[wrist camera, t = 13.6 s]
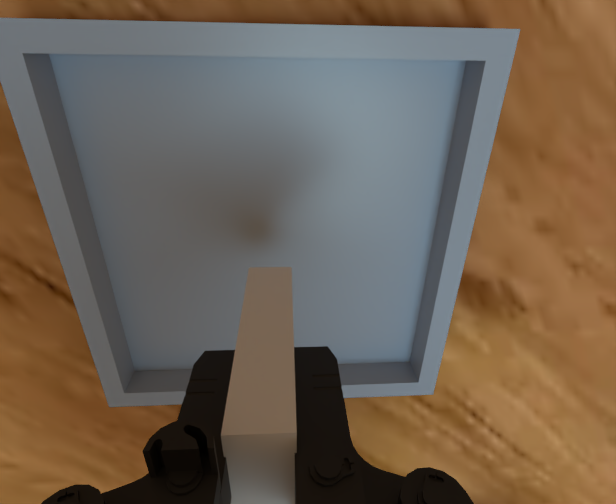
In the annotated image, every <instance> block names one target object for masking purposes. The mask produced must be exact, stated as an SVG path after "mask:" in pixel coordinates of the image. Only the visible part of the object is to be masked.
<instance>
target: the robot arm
mask: <svg viewBox="0 0 616 504" xmlns="http://www.w3.org/2000/svg"><path fill="white" fill-rule="evenodd" d="M143 454H144V457H145V461H146V464H147V467H148V471H149V474H147V475H146V476H144V477H143V478H141V479H139V480H137V481H135V482H132V483H130V484H127V485H125V486H122V487H119V488H116V489H113V490H111V491H108V492H105V493H102V494H101V493H100V491H99V490H98V489H96V488H94V487H92V486H90V485H73V486H70V487H68V488H65V489H62V490H59V491H58V492H56V493H55V494H53V495H52V496H50V497H49V498H47V499H46V500H44V501H43V502H42V503H41V504H474V503H473V502H472V500H471V499H470V497H469V496H468V494H467V493H466V491H465V490H464V489H463V488H462V486H461V485H460V484H459V483H458V482H457V481H456V480H455V479H454V478H452V477H451V476H449V475H448V474H446V473H445V472H443V471H440V470H437V469H433V468H430V467H429V468H417V469H416V470H414V471H412V472H411V473H409V474H407V476H406V477H403V476H400V475H397V474H393V473H390V472H386V471H383V470H380V469H378V468H376V467H373V466H372V465H370V464H369V463H367V462H366V461H364V460H363V458H362V457H361V456H360V455H359V454H358V453H357V451H356V450H355V448H354V446H353V444H352V441H351V438H350V432H349V426H348V421H347V415H346V409H345V403H344V397H343V391H342V385H341V380H340V374H339V368H338V362H337V358H336V357H335V356H334V354H333V353H332V352H331V350H330V349H329V347H328V346H321V347H294V330H293V298H292V267H249V270H248V276H247V282H246V288H245V294H244V300H243V306H242V312H241V318H240V324H239V330H238V336H237V342H236V348H235V350H212V351H204V353H203V354H202V355H201V356H200V357H199V359H198V360H197V361H196V362H195V363H194V365H193V369H192V372H191V376H190V379H189V383H188V386H187V389H186V395H185V396H184V399H183V403H182V406H181V410H180V413H179V417H178V420H177V421H176V422H172V423H170V424H168V425H167V426H165V427H163V428H161V429H160V430H158V431H157V432H156V433H155V434H154V435H153V436H152V437H151V438H150V439H149V441H148V443H147V444H146V446H145V448H144V450H143Z"/></svg>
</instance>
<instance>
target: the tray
mask: <svg viewBox="0 0 616 504" xmlns="http://www.w3.org/2000/svg"><path fill="white" fill-rule="evenodd" d="M519 32H520V29H494V28H448V27H402V26H356V25H310V24H264V23H218V22H173V21H127V20H81V19H35V18H0V82H1V85H2V88H3V91H4V94H5V97H6V100H7V103H8V106H9V109H10V112H11V115H12V118H13V121H14V124H15V127H16V130H17V133H18V136H19V139H20V142H21V145H22V148H23V151H24V154H25V157H26V160H27V163H28V166H29V169H30V171H31V174H32V177H33V180H34V183H35V186H36V189H37V192H38V195H39V198H40V201H41V204H42V207H43V210H44V213H45V216H46V219H47V222H48V225H49V228H50V231H51V234H52V237H53V240H54V243H55V246H56V249H57V252H58V255H59V258H60V261H61V264H62V267H63V270H64V273H65V276H66V279H67V282H68V285H69V288H70V291H71V294H72V297H73V300H74V303H75V306H76V309H77V312H78V315H79V318H80V321H81V324H82V327H83V330H84V333H85V336H86V339H87V342H88V345H89V348H90V351H91V354H92V357H93V360H94V363H95V366H96V369H97V372H98V375H99V378H100V381H101V384H102V387H103V390H104V393H105V396H106V399H107V402H108V405H109V407H127V406H153V405H178V404H182V403H183V399H184V396H185V395H186V389H187V386H188V383H189V379H190V376H191V372H192V369H193V365H194V363H195V362H196V361H197V360H198V359H199V357H200V356H201V355H202V354H203V353H204V351H212V350H235V348H236V342H237V336H238V330H239V324H240V318H241V312H242V306H243V300H244V294H245V288H246V282H247V276H248V270H249V267H292V298H293V330H294V347H321V346H328V347H329V349H330V350H331V352H332V353H333V354H334V356H335V357H336V358H337V362H338V368H339V374H340V380H341V385H342V391H343V397H344V398H356V397H382V396H407V395H433V393H434V388H435V384H436V380H437V376H438V372H439V367H440V363H441V359H442V355H443V351H444V346H445V342H446V338H447V334H448V330H449V325H450V321H451V317H452V313H453V309H454V305H455V300H456V296H457V292H458V288H459V284H460V279H461V275H462V271H463V267H464V263H465V258H466V254H467V250H468V246H469V242H470V238H471V233H472V229H473V225H474V221H475V217H476V212H477V208H478V204H479V200H480V196H481V191H482V187H483V183H484V179H485V175H486V171H487V166H488V162H489V158H490V154H491V150H492V145H493V141H494V137H495V133H496V129H497V124H498V120H499V116H500V112H501V108H502V104H503V99H504V95H505V91H506V87H507V83H508V78H509V74H510V70H511V66H512V62H513V57H514V53H515V49H516V45H517V41H518V37H519Z"/></svg>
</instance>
